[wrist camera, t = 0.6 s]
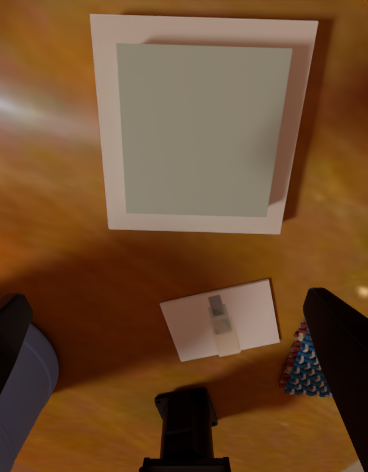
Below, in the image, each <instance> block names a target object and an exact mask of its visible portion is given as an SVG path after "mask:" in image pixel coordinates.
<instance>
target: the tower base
mask: <svg viewBox="0 0 368 472" xmlns="http://www.w3.org/2000/svg"><path fill="white" fill-rule="evenodd" d="M90 23H91V34H92V45H93V57H94V68H95V79H96V91H97V102H98V113H99V125H100V136H101V147H102V159H103V170H104V181H105V193H106V204H107V215H108V227H109V229H119V230H153V231H187V232H221V233H255V234H280V231H281V225H282V220H283V214H284V209H285V203H286V198H287V192H288V187H289V181H290V176H291V170H292V165H293V159H294V154H295V148H296V143H297V137H298V132H299V126H300V121H301V115H302V110H303V104H304V98H305V93H306V87H307V82H308V76H309V71H310V65H311V60H312V54H313V49H314V43H315V38H316V32H317V27H318V21H303V20H271V19H238V18H205V17H172V16H139V15H106V14H90Z"/></svg>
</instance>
